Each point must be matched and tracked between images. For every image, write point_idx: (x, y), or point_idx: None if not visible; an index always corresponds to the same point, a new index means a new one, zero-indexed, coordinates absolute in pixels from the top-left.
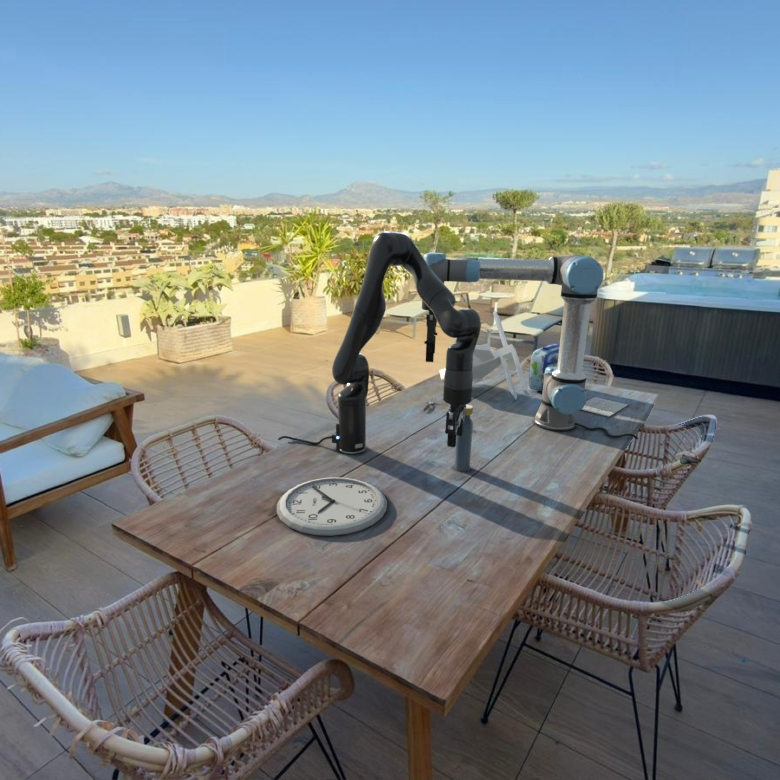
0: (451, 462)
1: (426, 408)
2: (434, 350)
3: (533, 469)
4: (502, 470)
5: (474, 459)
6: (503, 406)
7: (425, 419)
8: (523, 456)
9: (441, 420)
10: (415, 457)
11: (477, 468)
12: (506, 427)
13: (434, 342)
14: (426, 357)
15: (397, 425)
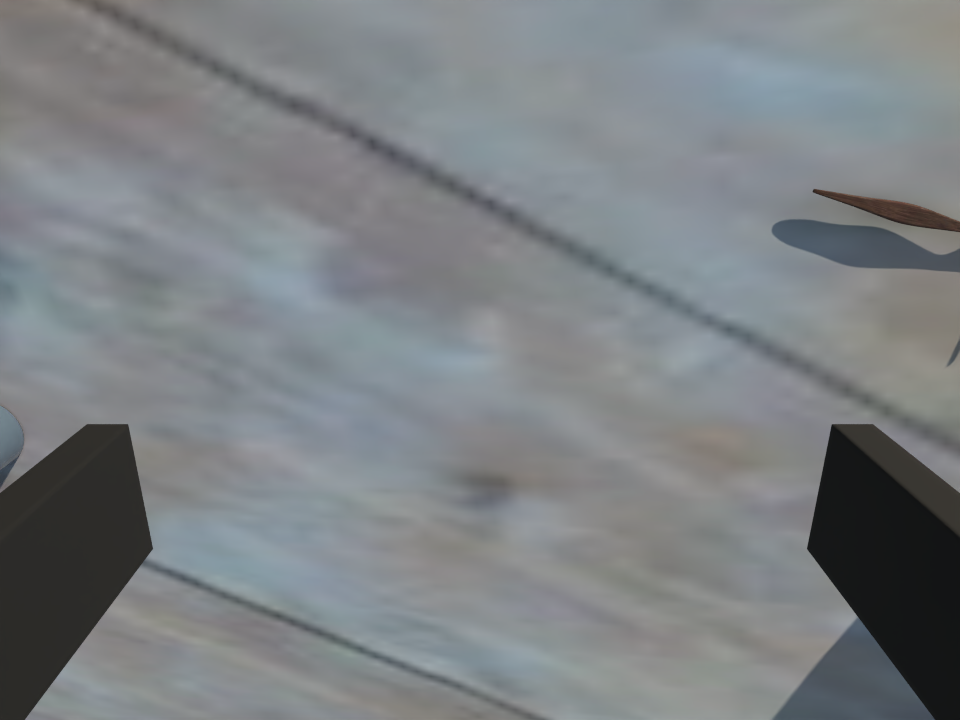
0: (34, 383)
1: (864, 210)
2: (833, 578)
3: (96, 699)
4: None
5: None
6: None
7: (662, 212)
8: (220, 679)
9: (651, 318)
10: (22, 188)
11: None
12: (573, 645)
13: (950, 713)
14: (33, 481)
15: (521, 11)
